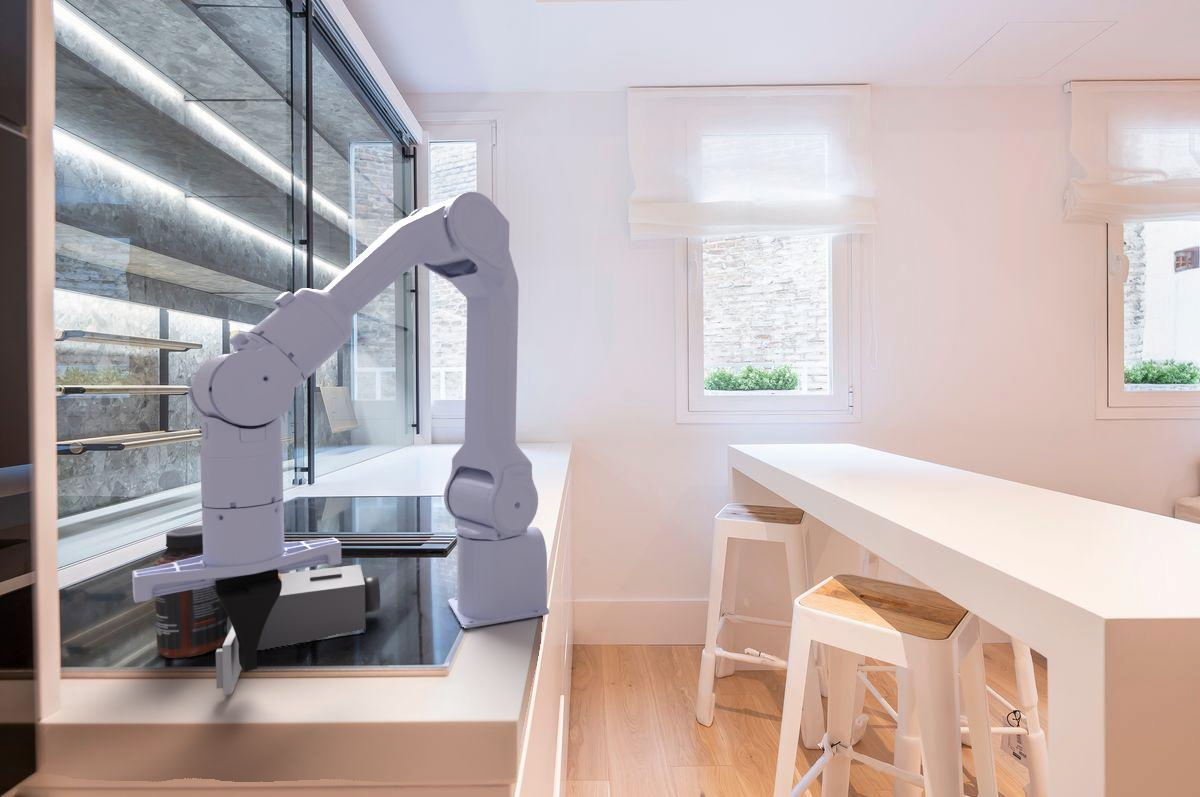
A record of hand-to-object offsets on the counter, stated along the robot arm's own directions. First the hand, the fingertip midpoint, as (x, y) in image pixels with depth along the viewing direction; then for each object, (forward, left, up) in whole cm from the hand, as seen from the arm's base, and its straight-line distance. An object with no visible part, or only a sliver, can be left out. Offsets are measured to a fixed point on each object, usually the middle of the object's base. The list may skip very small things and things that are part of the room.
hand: (247, 666), depth 50 cm
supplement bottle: (+5, -12, -2) cm, 13 cm away
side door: (+1, -4, -2) cm, 4 cm away
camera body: (-4, -12, -2) cm, 13 cm away
